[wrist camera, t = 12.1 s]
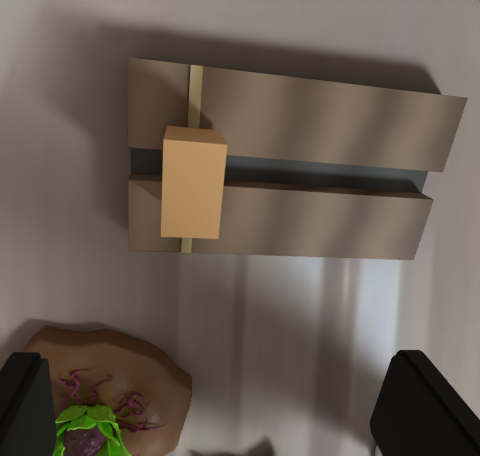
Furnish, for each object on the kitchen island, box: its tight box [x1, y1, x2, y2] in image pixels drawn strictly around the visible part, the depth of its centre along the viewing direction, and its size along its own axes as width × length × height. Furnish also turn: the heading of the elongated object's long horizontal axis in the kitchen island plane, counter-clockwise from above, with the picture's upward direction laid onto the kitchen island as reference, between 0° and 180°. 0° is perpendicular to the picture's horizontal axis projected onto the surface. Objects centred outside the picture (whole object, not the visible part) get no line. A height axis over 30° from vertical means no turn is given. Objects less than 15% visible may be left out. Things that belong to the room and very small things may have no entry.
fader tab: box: [161, 126, 227, 239], centre depth 25 cm, size 4×6×7 cm, turn 174°
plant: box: [24, 326, 192, 456], centre depth 34 cm, size 20×20×11 cm
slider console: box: [127, 57, 467, 260], centre depth 30 cm, size 25×14×3 cm, turn 83°
